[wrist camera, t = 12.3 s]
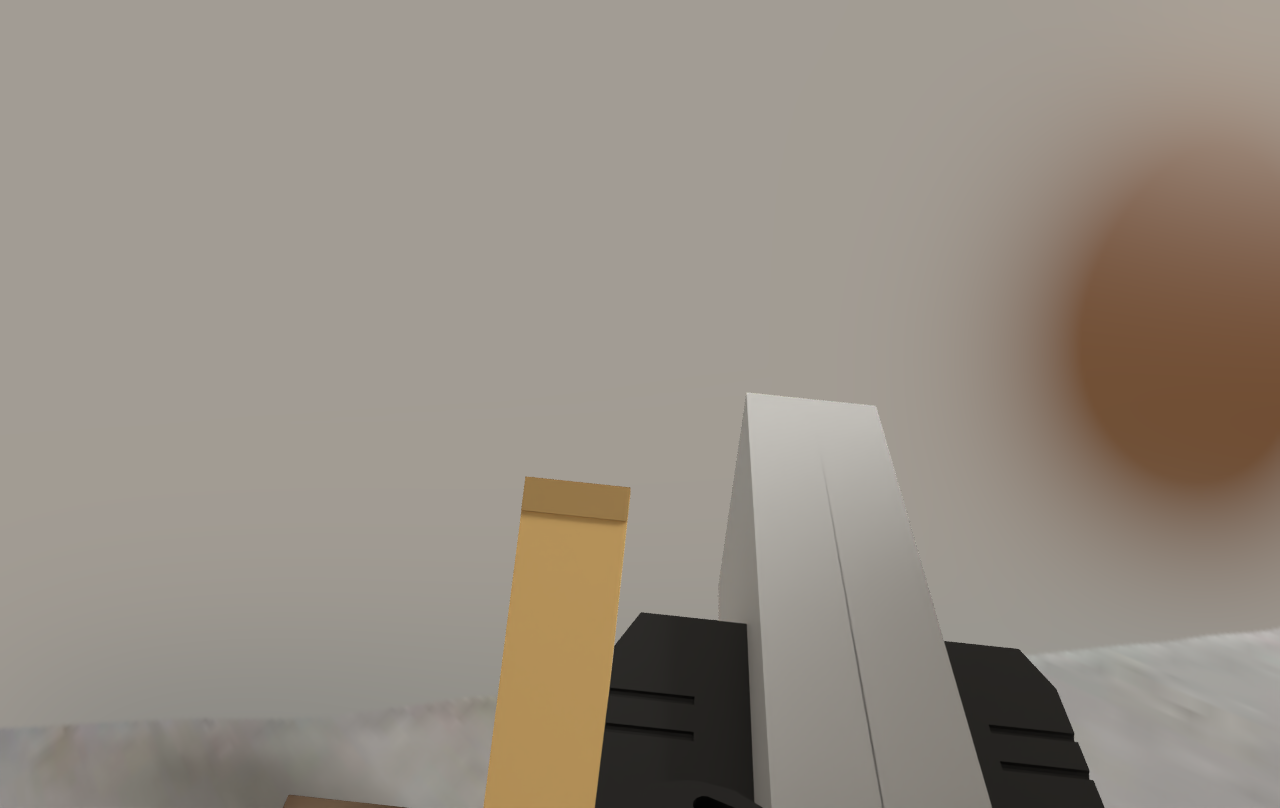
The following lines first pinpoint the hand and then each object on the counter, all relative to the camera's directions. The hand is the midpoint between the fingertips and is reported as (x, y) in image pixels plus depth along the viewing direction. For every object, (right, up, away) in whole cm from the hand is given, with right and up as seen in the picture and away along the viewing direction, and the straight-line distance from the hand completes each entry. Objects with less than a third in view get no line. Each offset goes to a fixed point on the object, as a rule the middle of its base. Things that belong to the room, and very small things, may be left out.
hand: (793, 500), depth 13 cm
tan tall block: (-7, -21, +36) cm, 43 cm away
